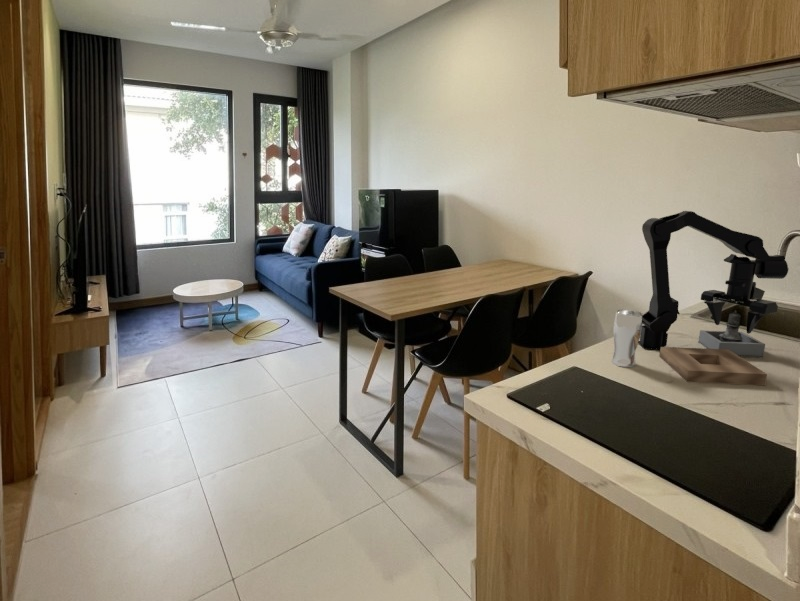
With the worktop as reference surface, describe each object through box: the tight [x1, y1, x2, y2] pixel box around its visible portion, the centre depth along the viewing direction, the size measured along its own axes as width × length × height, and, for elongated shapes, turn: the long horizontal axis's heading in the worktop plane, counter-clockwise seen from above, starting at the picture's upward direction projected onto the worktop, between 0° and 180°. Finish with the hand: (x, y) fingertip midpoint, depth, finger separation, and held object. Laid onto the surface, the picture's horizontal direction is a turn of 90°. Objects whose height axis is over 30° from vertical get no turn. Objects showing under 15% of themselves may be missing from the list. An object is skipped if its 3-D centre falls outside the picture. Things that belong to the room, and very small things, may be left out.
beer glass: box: [611, 308, 643, 368], centre depth 127 cm, size 7×7×15 cm
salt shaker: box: [719, 309, 743, 342], centre depth 137 cm, size 6×6×12 cm
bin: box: [698, 329, 766, 358], centre depth 138 cm, size 12×12×4 cm
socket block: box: [658, 346, 768, 386], centre depth 123 cm, size 18×18×3 cm
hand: (732, 328), depth 137 cm, fingers open, 9 cm apart
